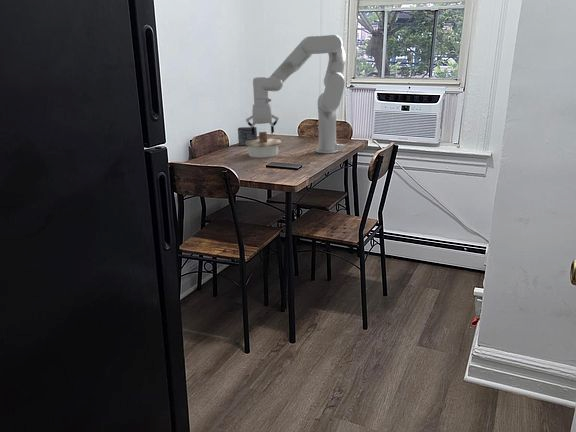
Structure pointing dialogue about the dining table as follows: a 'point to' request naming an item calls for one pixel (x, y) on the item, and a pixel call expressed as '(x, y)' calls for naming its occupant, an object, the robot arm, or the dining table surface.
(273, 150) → the bowl
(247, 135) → the small box
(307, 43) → the robot arm
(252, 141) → the lid
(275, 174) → the dining table surface
